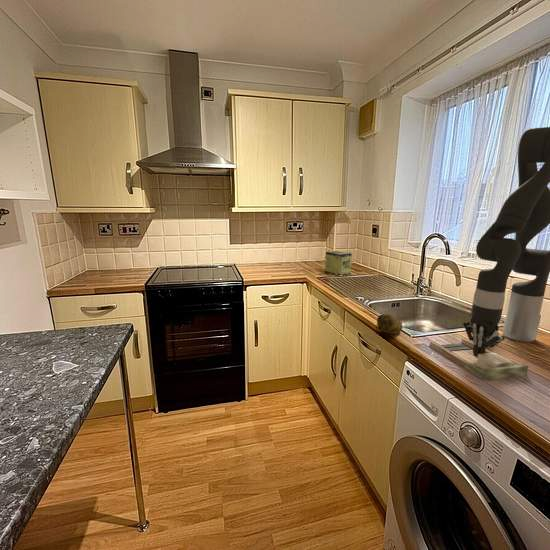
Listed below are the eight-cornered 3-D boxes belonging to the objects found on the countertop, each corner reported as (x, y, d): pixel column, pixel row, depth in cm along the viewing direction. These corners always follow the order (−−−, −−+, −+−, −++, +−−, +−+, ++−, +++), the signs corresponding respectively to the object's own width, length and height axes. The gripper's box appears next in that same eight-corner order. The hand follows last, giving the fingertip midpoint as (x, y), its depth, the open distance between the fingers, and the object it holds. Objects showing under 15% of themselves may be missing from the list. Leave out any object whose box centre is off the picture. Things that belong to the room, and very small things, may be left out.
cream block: (491, 364, 93) (494, 352, 92) (510, 374, 87) (513, 361, 86) (475, 366, 91) (478, 354, 91) (494, 376, 86) (496, 364, 85)
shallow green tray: (464, 342, 107) (465, 334, 106) (526, 375, 86) (528, 365, 86) (429, 345, 104) (430, 337, 103) (485, 380, 83) (487, 370, 83)
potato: (411, 335, 113) (413, 315, 111) (384, 340, 108) (386, 319, 106) (394, 326, 120) (397, 308, 118) (368, 331, 115) (370, 311, 114)
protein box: (341, 276, 206) (342, 254, 202) (324, 272, 218) (325, 251, 214) (350, 274, 212) (352, 253, 209) (333, 271, 224) (334, 250, 221)
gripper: (519, 310, 84) (507, 366, 88) (479, 297, 97) (470, 346, 101) (497, 312, 83) (486, 368, 86) (459, 298, 95) (451, 348, 99)
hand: (477, 356), depth 93 cm, fingers closed
